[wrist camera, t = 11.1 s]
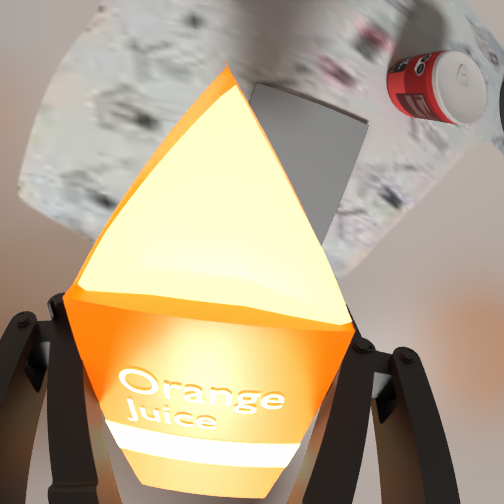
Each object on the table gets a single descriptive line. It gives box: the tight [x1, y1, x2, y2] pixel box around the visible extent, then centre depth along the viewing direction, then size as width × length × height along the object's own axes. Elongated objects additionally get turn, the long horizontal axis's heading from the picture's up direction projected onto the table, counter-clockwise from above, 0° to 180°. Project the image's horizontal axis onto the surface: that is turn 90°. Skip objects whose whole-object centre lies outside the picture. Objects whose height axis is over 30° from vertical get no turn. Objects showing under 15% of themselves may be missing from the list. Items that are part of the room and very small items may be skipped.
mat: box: [249, 83, 369, 245], centre depth 35 cm, size 14×21×1 cm, turn 163°
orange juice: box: [63, 62, 355, 498], centre depth 13 cm, size 8×9×20 cm
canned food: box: [387, 50, 487, 126], centre depth 24 cm, size 8×8×11 cm
